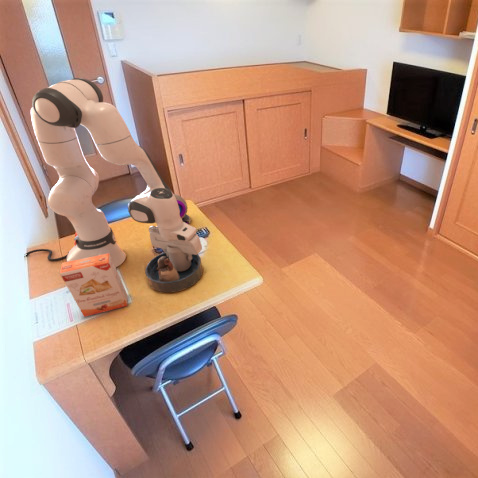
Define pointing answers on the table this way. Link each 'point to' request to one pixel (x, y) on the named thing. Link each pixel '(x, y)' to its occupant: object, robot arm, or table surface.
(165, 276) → the figurine
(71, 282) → the cracker box
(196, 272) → the bowl
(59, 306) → the table surface
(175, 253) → the can
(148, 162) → the robot arm
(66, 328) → the table surface
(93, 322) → the table surface
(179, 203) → the webcam
